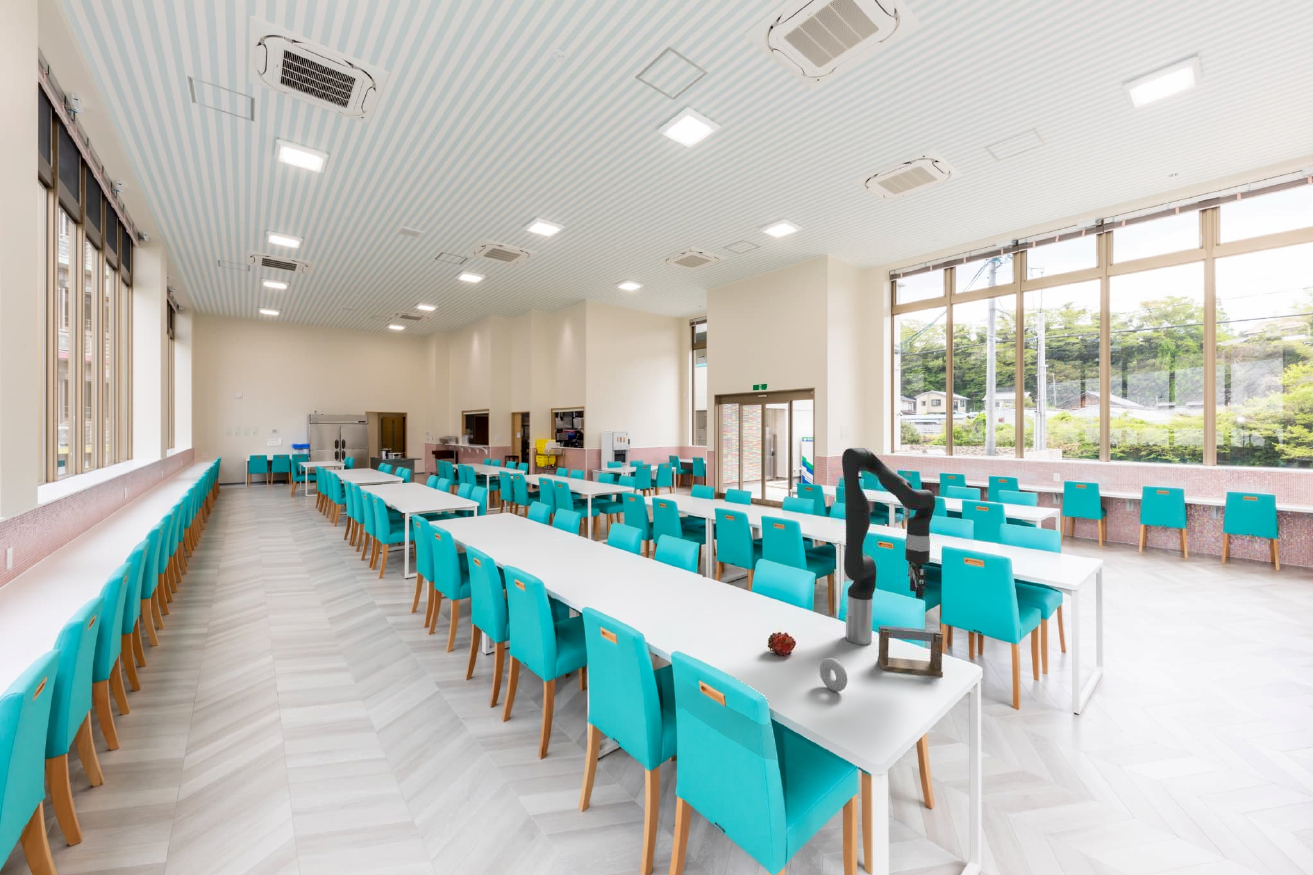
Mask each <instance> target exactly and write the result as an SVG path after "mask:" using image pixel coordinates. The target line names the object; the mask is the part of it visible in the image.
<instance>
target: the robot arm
mask: <svg viewBox="0 0 1313 875" xmlns="http://www.w3.org/2000/svg"><path fill="white" fill-rule="evenodd" d="M841 466H842V475H843V476H842V477H843V483H844V500H845V502H844V504H845V506H844V507H845V508H844V509H845V511H844V514H845V549H844V560H843V561H844V562H843V565H844V566H843V567H844V573H845V575H846V576H847V578H848V579H849V580H851V581H853V582H852V583H851V585H850V586H849V587H848V589H847V602H846V603H847V605H846V606H847V609H846V610H847V611H846V613H845V638H846V641H847V642H850V643H853V644H855V645H870V644H871V643H872V638H873V606H874V605H873V604H874V603H873V600H874V599H873V598H874V593H875V591H876V584H877V565H876V562H875V559H874V558H872V556H870V555H868V554H863V552H864V549H863V548H864V542H865V539H866V537H867V534H868V531H869V529H870V525H871V504H870V502H869V500H868V497H867V496H866V494H865V493H864V491H863V489H862V487H861V482H860V476H859V472H867V473H870V474H871V475H873V476H875V477H876V478H877V479H878V483H879V484H880V485H881V486H882V488H884V489H885V490H886V491H888V492H889V493H890V494H891V495H894V496H895V497H896V499H897V500H898V501H899V502H900V504H901V505H902V506H903V507H904V508H906V509H908V510H911V511H915V513H914V515H913V516H909V517H908V519H907V521H906V535H905V536H906V537H905V553H904V554H905V555H904V559H905V561H906V562H908V571H907V572H908V573H907V576H908V579H909V591H910V592H914V593H915V598H916V599H920V600H923V599H924V589H925V588H926V587H927V584H926V583H927V582H926V581H927V570H926V568H924V565H925V564H929V563H930V558H931V557H930V554H931V539H930V533H931V532H930V528H931V527H930V524H931V521H932V518H933V515H934V513H935V512H934V511H935V508H936V498H935V494H934V493H933V492H932V491H931V490H930V489H913V484H912V482H910V480H908V479H906V478H905V477H903V476H901V475H900V474H898V473H897V472H896V471H894V470H892V469H891V468H890V467H889V466H888V465H886V464H885V463H884V462H883V461H882V460H881V459H880V458H879V457H878V456H877V455H876V454H875V453H874V452H873V451H871V450H870V449H869V448H865V447H856V448H855V447H849V448H846V449H845V450H844V451H843V453H842V458H841Z"/></svg>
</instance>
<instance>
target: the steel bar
mask: <svg viewBox="0 0 1313 875" xmlns="http://www.w3.org/2000/svg"><path fill="white" fill-rule="evenodd" d="M882 630H885V631H889V639H899V640H911V641H919V642H920V641H921V642H930V643H931V642H935V635H941V636H942V637H943V638H944V633H943V632H942V631H941V630H936V629H926V628H925V629H924V628H913V627H902V626H900V627H899V626H891V625H890V626H889V625H878V637H879V636H880V637H882ZM943 641H944V639H943V640H942V644H943V643H944V642H943Z"/></svg>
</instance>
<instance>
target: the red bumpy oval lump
mask: <svg viewBox="0 0 1313 875" xmlns="http://www.w3.org/2000/svg"><path fill="white" fill-rule="evenodd" d="M796 645H797V642H796V640H795V638H794V637H793V636H791V635H789V634H788V632H784V633H782V631H779V632H778V631H777V633H776V632H773V633H772V634H770V635H769V637H768V640H767V648H768V649H769V651H770V652H771V653H774V654H775V655H780V656H783V657H784V656H786V655H791V654H792V653H793V650H794V649H795V648H796Z"/></svg>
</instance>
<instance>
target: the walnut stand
mask: <svg viewBox="0 0 1313 875" xmlns="http://www.w3.org/2000/svg"><path fill="white" fill-rule="evenodd" d="M889 640H890V638H889V631H885V630H882V637H880V636H879V635H878V656H877V662H878V664H879V666H880V668H881V670H882V671H886V672H894V673H895V672H897V673H905V674H906V673H907V674H915V675H925V676H934V677H943V676H944V675H943V674H944V671H943V670H942V669H943V667H942V666H943V643H942V640H943V641H944V636H943V637H942V636H941V635H935V642H930V656H929V657H930V658H929V660H919V659H909V658H899V657H889V644H890V642H889Z"/></svg>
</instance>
